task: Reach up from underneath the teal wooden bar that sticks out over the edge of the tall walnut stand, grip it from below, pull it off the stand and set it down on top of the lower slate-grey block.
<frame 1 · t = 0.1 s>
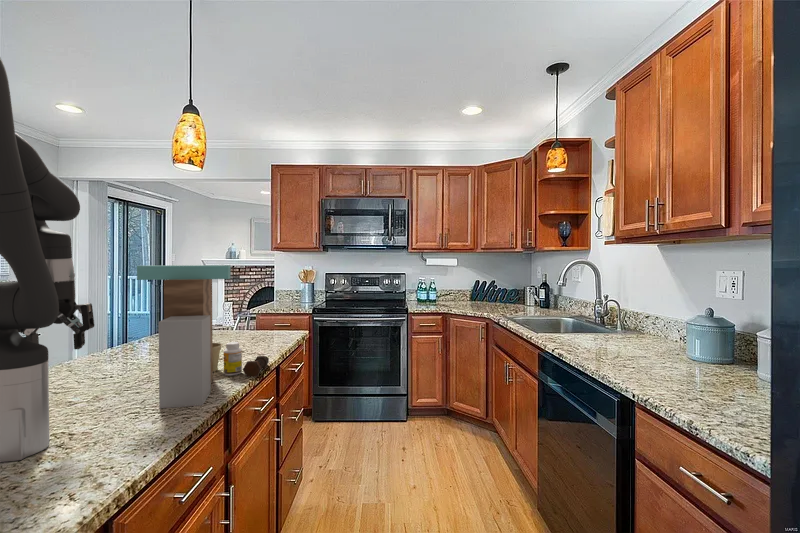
hand: (56, 349, 92), 17 cm above the countertop, tool pointing down, fingers open, 8 cm apart
walnut stand: (190, 387, 119), on the countertop
grey block: (186, 400, 108), on the countertop
supplement bottle: (232, 374, 133), on the countertop
hex dumbbell: (258, 371, 137), on the countertop
flower pot: (207, 371, 137), on the countertop
teal bar: (185, 279, 118), point 32 cm above the countertop, touching walnut stand
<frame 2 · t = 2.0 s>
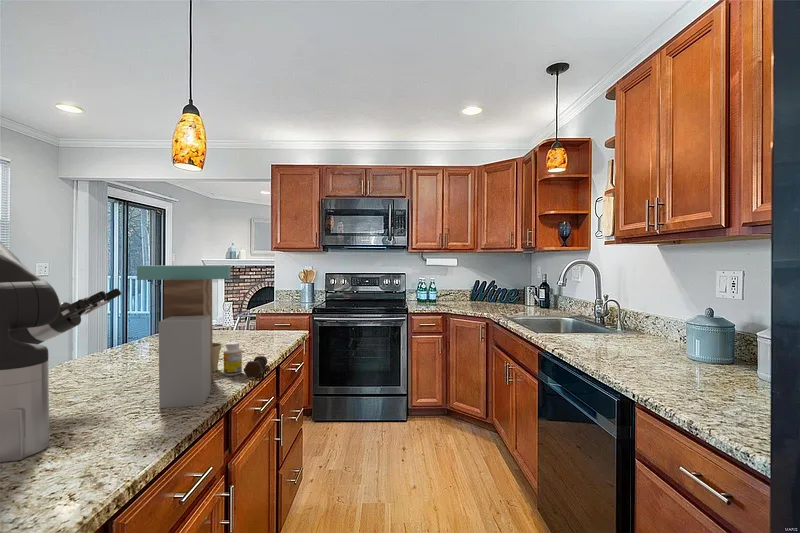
hand: (112, 292, 114), 28 cm above the countertop, tool pointing upward, fingers open, 8 cm apart
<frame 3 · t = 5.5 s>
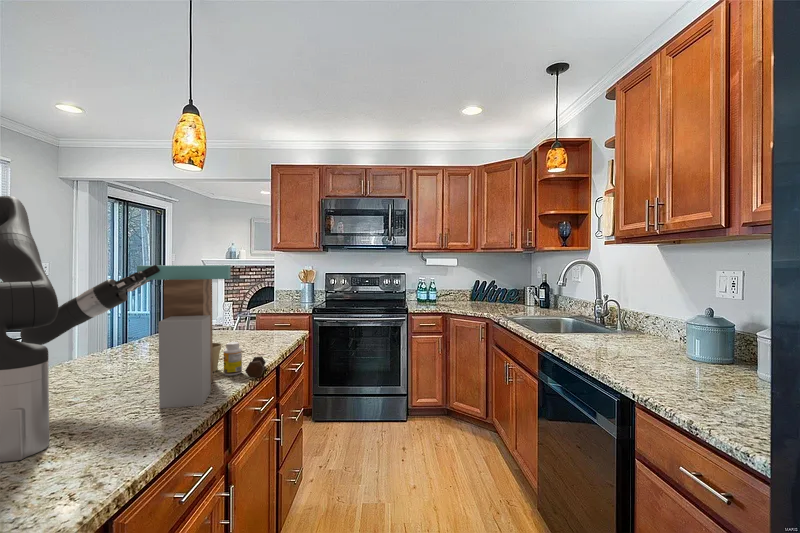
hand: (160, 267, 117), 35 cm above the countertop, tool pointing upward, fingers closed on teal bar, 4 cm apart
teal bar: (185, 279, 118), point 32 cm above the countertop, touching gripper, walnut stand
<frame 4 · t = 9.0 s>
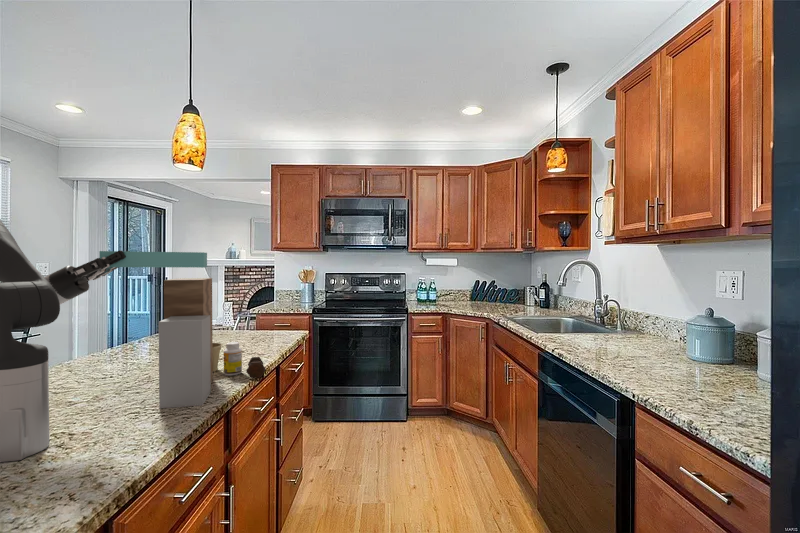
hand: (127, 253, 104), 39 cm above the countertop, tool pointing upward, fingers closed on teal bar, 4 cm apart
teal bar: (155, 267, 106), point 36 cm above the countertop, touching gripper
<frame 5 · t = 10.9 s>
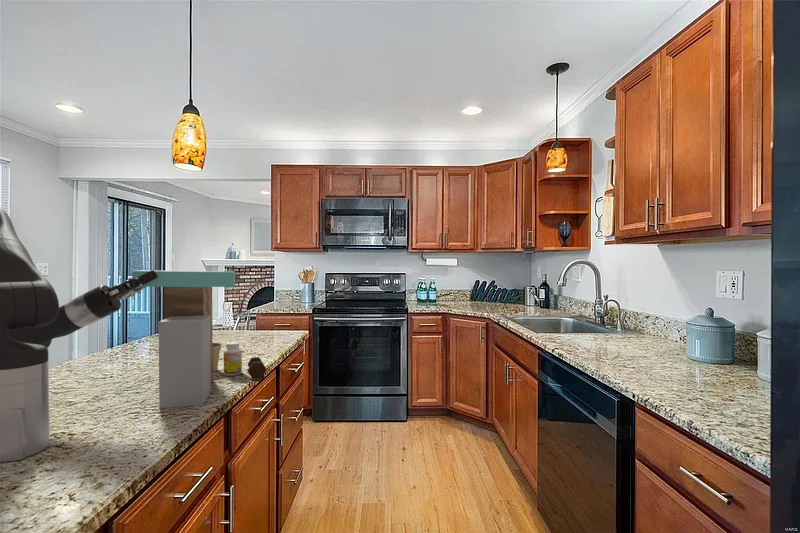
hand: (158, 273, 106), 34 cm above the countertop, tool pointing upward, fingers closed on teal bar, 4 cm apart
teal bar: (185, 286, 108), point 31 cm above the countertop, touching gripper
when the fingers open (26 cm above the countertop, at t = 12.6 s): teal bar stays where it is, resting on grey block.
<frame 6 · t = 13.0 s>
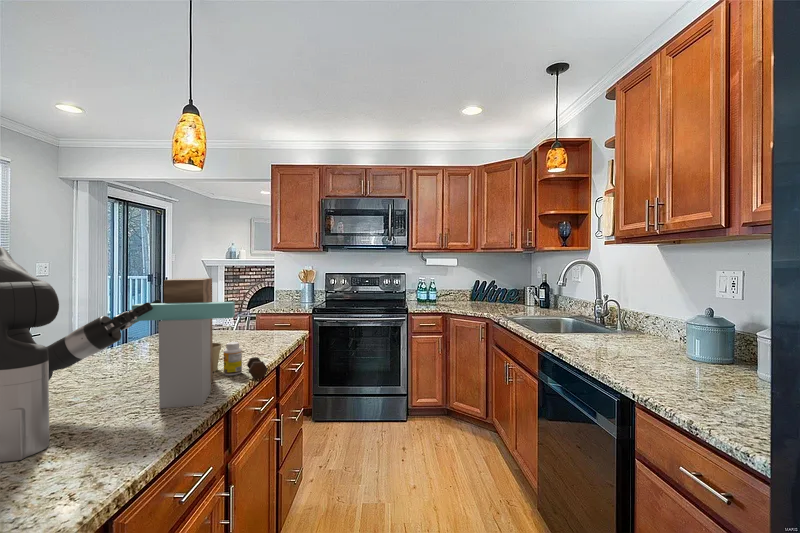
hand: (155, 303, 106), 26 cm above the countertop, tool pointing upward, fingers open, 7 cm apart
teal bar: (185, 318, 108), point 22 cm above the countertop, touching grey block
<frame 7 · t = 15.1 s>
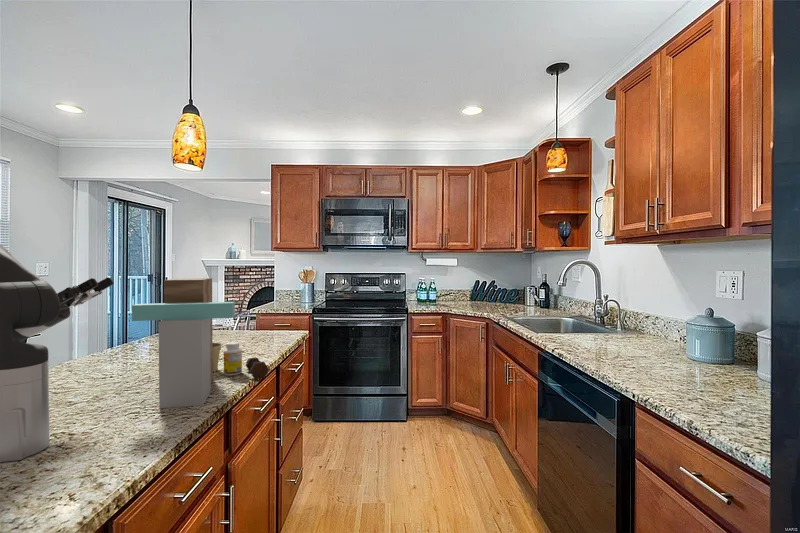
hand: (104, 280, 104), 32 cm above the countertop, tool pointing upward, fingers open, 8 cm apart
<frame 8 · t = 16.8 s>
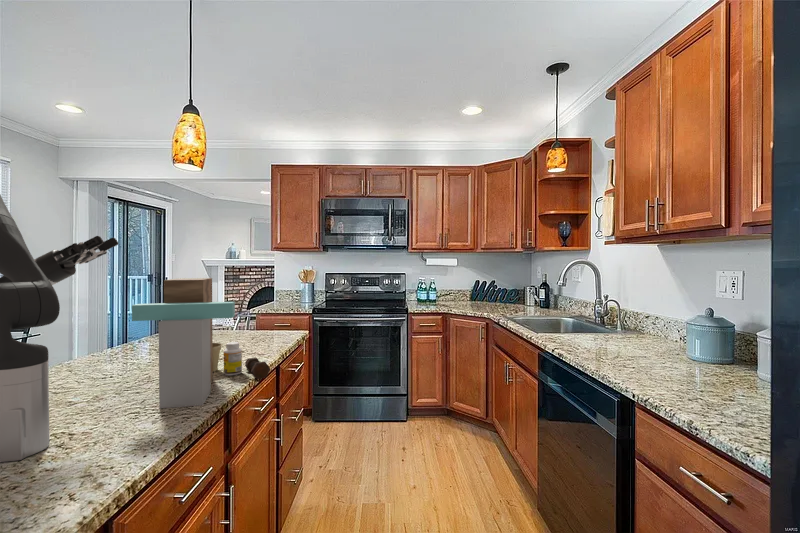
hand: (109, 239, 107), 43 cm above the countertop, tool pointing upward, fingers open, 8 cm apart
at the end: teal bar inside the target area on the grey block (0.0 cm from its centre), point 22.0 cm above the grey block's base; the gripper is holding nothing; teal bar touching grey block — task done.
